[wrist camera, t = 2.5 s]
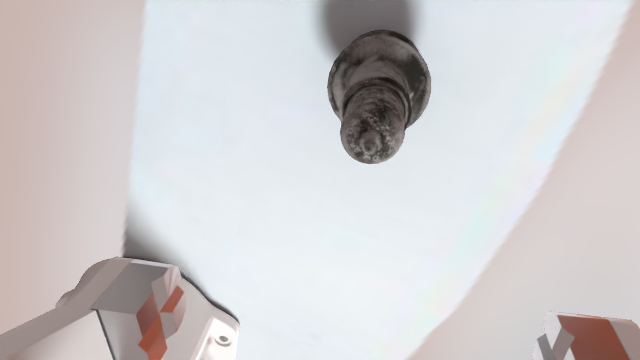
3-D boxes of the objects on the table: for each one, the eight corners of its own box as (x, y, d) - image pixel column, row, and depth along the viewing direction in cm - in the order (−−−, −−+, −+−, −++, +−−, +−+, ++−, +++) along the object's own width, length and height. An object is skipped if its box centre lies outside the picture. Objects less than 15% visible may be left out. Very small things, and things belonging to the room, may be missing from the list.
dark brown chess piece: (319, 86, 29) (273, 168, 18) (366, 5, 26) (344, 47, 15) (392, 131, 29) (389, 235, 19) (447, 57, 26) (478, 131, 16)
